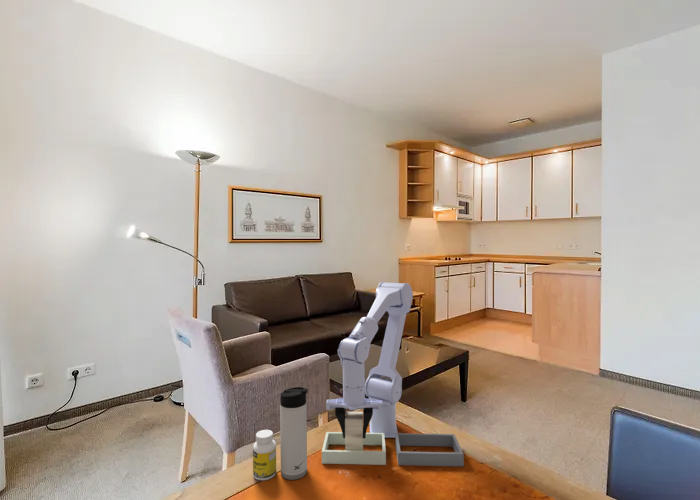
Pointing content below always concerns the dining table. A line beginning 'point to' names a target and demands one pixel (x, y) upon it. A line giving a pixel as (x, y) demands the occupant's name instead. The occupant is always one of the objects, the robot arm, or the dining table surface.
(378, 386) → the robot arm
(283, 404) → the travel mug
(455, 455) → the bin
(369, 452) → the bin
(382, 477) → the dining table surface
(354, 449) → the ash block
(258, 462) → the supplement bottle
